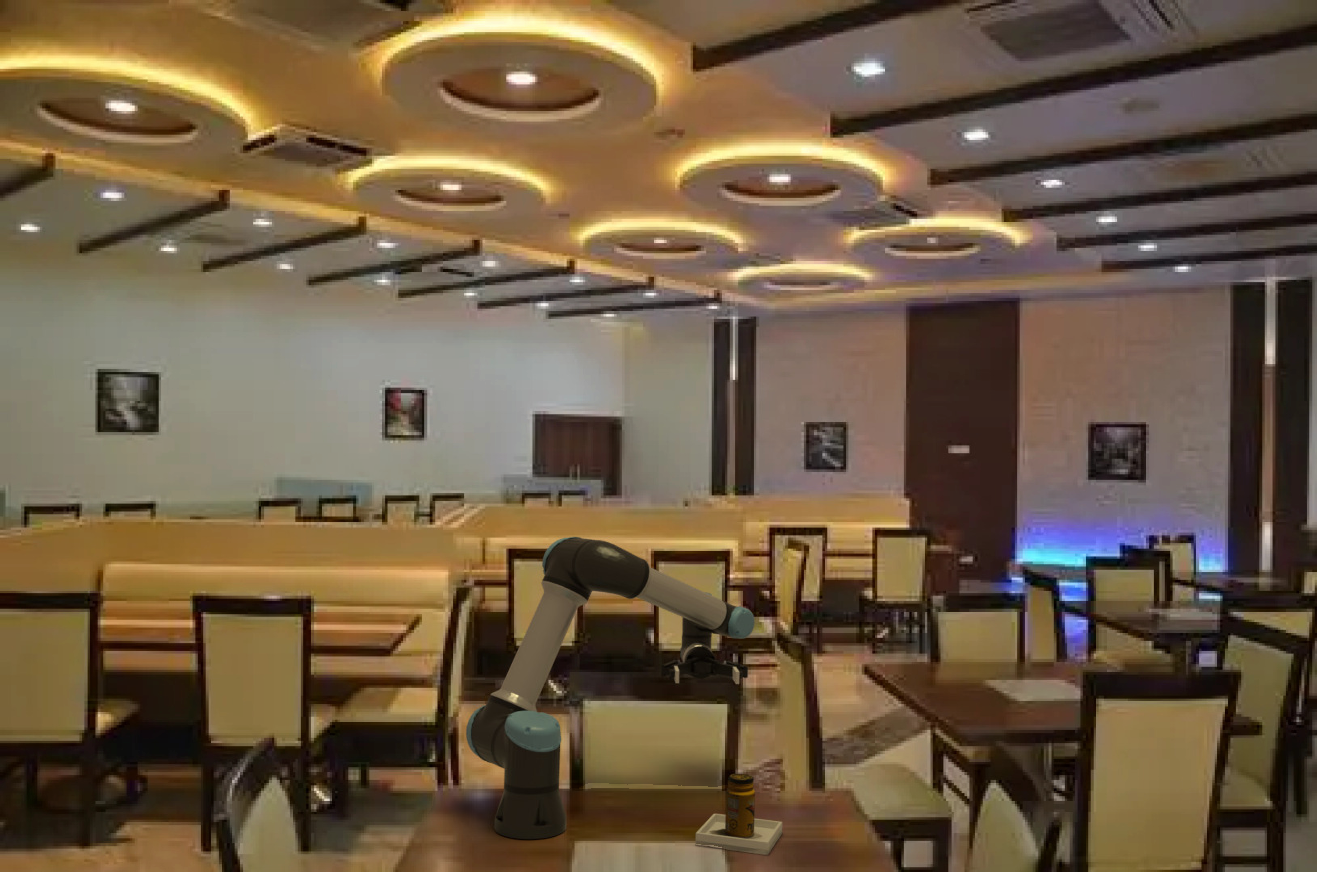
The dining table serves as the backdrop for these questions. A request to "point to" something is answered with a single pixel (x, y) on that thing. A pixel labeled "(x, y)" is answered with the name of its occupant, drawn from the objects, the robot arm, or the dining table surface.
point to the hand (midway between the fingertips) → (707, 677)
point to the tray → (758, 845)
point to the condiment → (739, 808)
